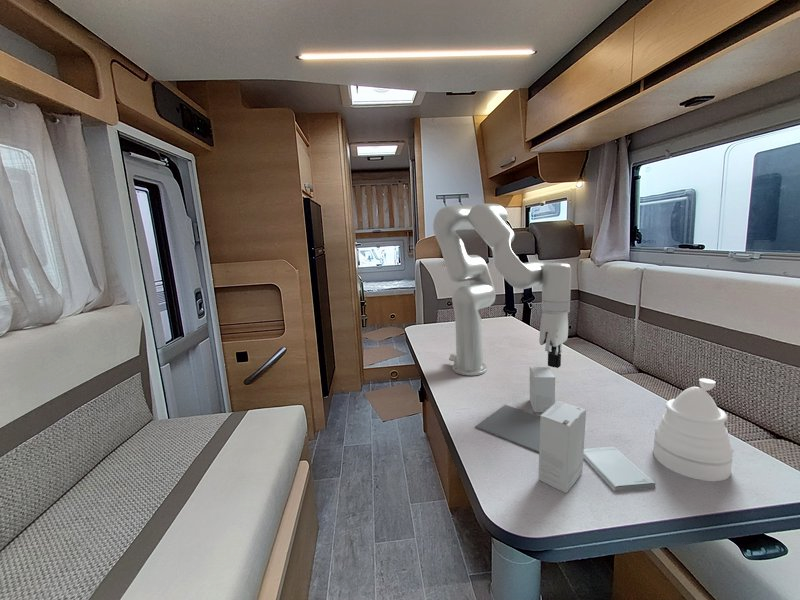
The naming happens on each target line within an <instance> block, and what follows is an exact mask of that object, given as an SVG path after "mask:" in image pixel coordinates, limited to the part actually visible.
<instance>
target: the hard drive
mask: <svg viewBox="0 0 800 600" xmlns="http://www.w3.org/2000/svg"><path fill="white" fill-rule="evenodd" d="M583 460H585V461H586V462H587V463H588V465H590V466H591V467H592V468H593V469H594V471H595V472H596V473H597V475H599V476H600V477H601V478H602V480H604V481H605V483H606V484H607V485H608V486H609V487H610V488H611V489H612V491H614V492H621V491H632V490H643V489H644V490H645V489H651V488H652V489H653V488H656V482H654V481H653V480H652V479H651V478H650V477H649V476H648V475H646V473H644V472H643V471H642V470H641V469H639V467H638V466H636V465H635V464H634V463H633V462H632V461H631V460H629V458H627V457H626V456H625V454H623V453H622V452H621V451H619V450H618V449H617V448H616V447H615V446H614V445H613V446H602V447H601V446H600V447H590V448H584V454H583Z"/></svg>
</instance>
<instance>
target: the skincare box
mask: <svg viewBox="0 0 800 600" xmlns="http://www.w3.org/2000/svg"><path fill="white" fill-rule="evenodd" d="M539 416H540V417H541V419H540V447H539V453H538V454H539V455H538V480H539V481H540V482H542V483H544V484H546V485H549V486H551V487H553V488H555V489H556V490H558V491H560V492H562V493H564V494H568V492H569V491H570V490H571V488H572V487H573V485H574V484H575V483H576V482H577V481H578V479H579V478H580V476H582V474H583V471H584V469H583V468H584V458H583V454H584V449H585V435H586V434H585V433H586V419H587V418H586V416H587V410H586V409H585V408H583V407H579V406H577V405H572V404H570V403H568V402H567V403H566V402H564V401H561V400H557V401H555V404H554V405H552V406H551V407H550V408H549V409H548V410H547V411H545V412H542V413H541V414H540V415H539Z"/></svg>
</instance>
